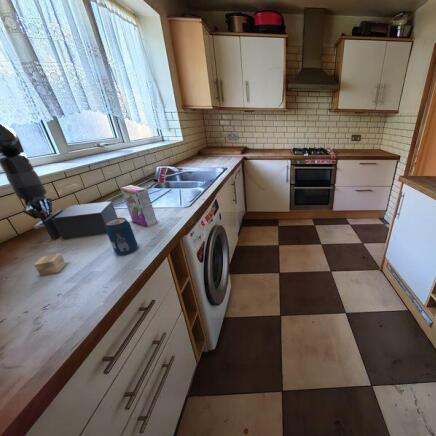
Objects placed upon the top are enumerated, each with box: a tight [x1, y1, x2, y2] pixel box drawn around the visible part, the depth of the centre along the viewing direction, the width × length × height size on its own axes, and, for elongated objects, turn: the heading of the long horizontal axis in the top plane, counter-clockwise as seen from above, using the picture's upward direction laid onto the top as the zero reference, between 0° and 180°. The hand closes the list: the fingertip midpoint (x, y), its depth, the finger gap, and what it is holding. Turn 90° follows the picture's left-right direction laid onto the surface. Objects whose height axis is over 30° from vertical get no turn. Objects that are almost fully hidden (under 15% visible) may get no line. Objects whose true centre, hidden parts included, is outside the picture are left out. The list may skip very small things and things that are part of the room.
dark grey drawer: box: [33, 208, 64, 240], centre depth 92 cm, size 18×11×8 cm, turn 109°
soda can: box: [105, 217, 138, 256], centre depth 79 cm, size 7×7×12 cm
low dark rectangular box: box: [54, 200, 119, 240], centre depth 94 cm, size 15×13×10 cm
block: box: [33, 253, 67, 277], centre depth 71 cm, size 4×4×4 cm
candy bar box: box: [120, 184, 158, 227], centre depth 98 cm, size 11×5×16 cm, turn 63°
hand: (49, 225), depth 90 cm, fingers closed
